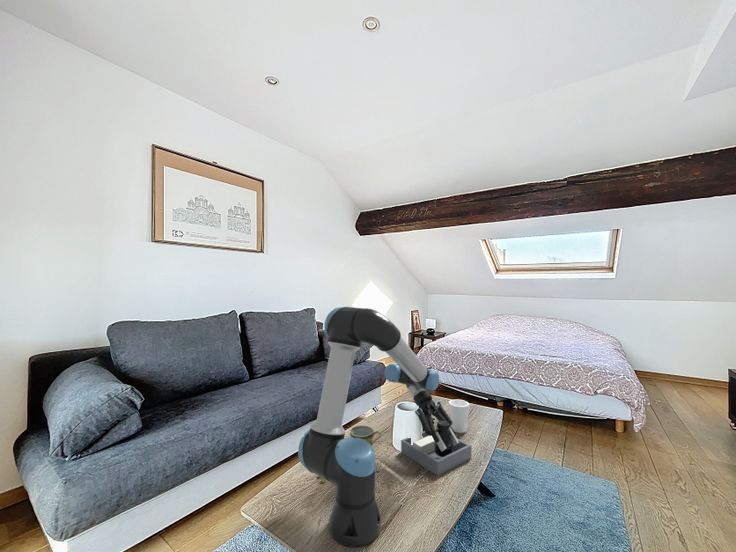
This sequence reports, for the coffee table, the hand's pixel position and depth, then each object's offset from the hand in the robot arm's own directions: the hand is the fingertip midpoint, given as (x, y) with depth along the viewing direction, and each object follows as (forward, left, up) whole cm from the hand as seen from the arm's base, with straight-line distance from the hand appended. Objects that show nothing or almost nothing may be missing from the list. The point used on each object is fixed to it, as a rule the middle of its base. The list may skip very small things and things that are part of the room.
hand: (450, 446), depth 123 cm
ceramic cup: (-22, +26, -8) cm, 35 cm away
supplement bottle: (0, +4, -4) cm, 6 cm away
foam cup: (+28, +17, -8) cm, 34 cm away
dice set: (-43, +23, -8) cm, 49 cm away
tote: (0, +7, -7) cm, 11 cm away
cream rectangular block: (0, +12, -6) cm, 14 cm away
